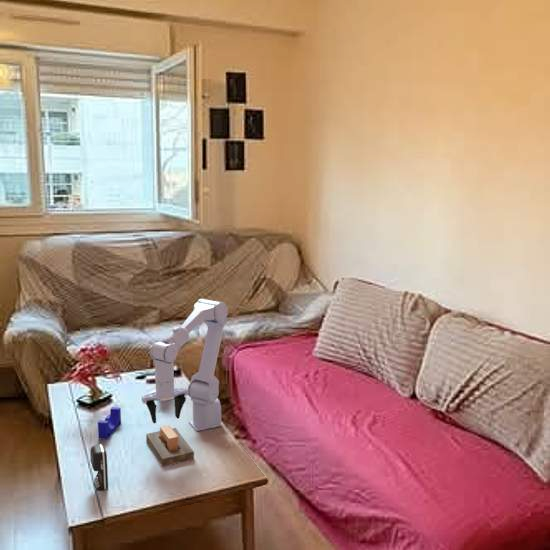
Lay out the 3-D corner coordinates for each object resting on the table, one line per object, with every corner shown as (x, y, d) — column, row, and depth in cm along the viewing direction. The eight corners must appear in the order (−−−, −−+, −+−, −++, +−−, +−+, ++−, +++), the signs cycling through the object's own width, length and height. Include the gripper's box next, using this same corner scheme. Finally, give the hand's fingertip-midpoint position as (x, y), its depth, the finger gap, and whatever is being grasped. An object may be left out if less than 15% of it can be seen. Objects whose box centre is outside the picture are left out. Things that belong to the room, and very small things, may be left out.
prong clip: (169, 441, 194) (169, 425, 193) (178, 454, 187) (178, 436, 185) (160, 443, 193) (160, 426, 192) (169, 456, 185) (168, 438, 184)
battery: (91, 480, 171) (89, 444, 169) (104, 477, 173) (102, 441, 171) (94, 492, 165) (92, 455, 163) (108, 489, 167) (106, 452, 164)
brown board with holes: (175, 434, 199) (175, 427, 199) (194, 459, 184) (193, 451, 183) (146, 440, 195) (146, 433, 194) (162, 466, 179) (162, 458, 179)
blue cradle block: (108, 422, 208) (108, 406, 207) (121, 423, 207) (120, 407, 206) (94, 438, 196) (93, 422, 195) (107, 439, 196) (106, 422, 195)
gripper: (182, 371, 193) (183, 410, 196) (138, 379, 187) (139, 419, 190) (189, 378, 187) (190, 418, 190) (144, 386, 181) (146, 428, 183)
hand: (165, 419), depth 189 cm, fingers open, 7 cm apart
